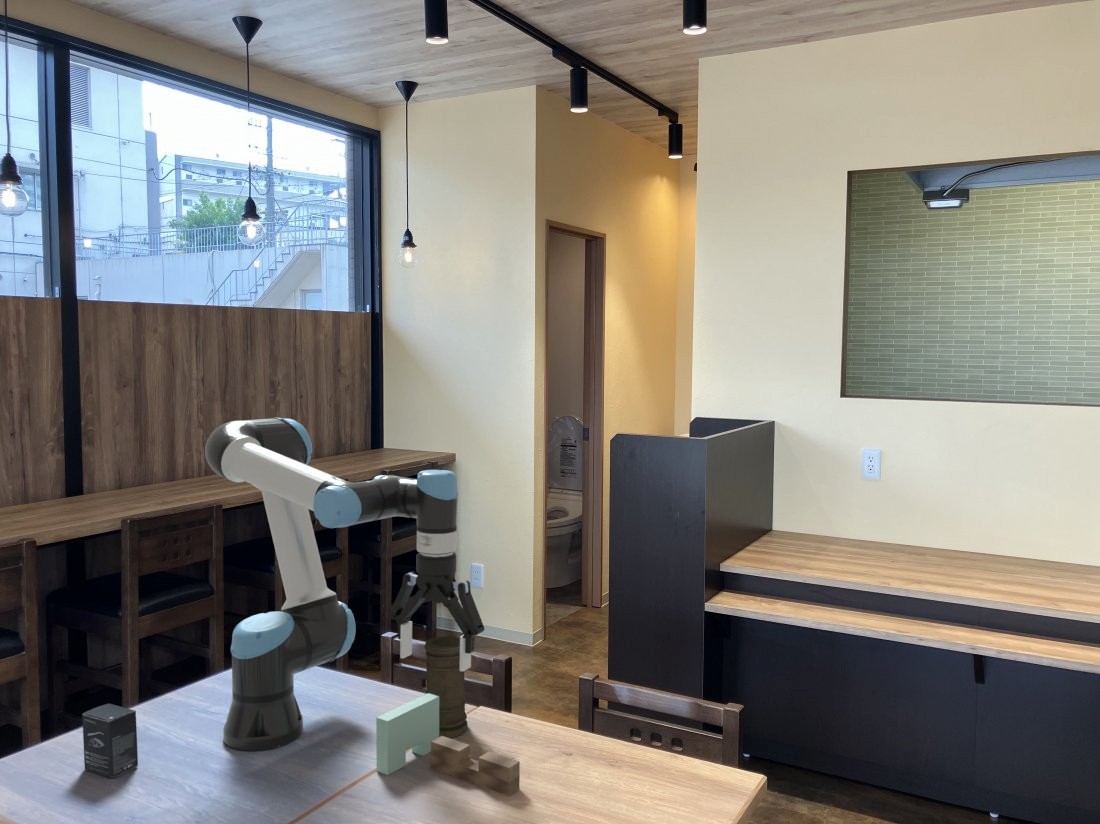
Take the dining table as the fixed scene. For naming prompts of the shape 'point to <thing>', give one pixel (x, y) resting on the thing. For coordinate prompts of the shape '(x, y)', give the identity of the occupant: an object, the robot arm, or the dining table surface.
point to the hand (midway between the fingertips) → (435, 662)
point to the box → (110, 740)
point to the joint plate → (406, 732)
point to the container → (447, 683)
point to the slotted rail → (475, 766)
